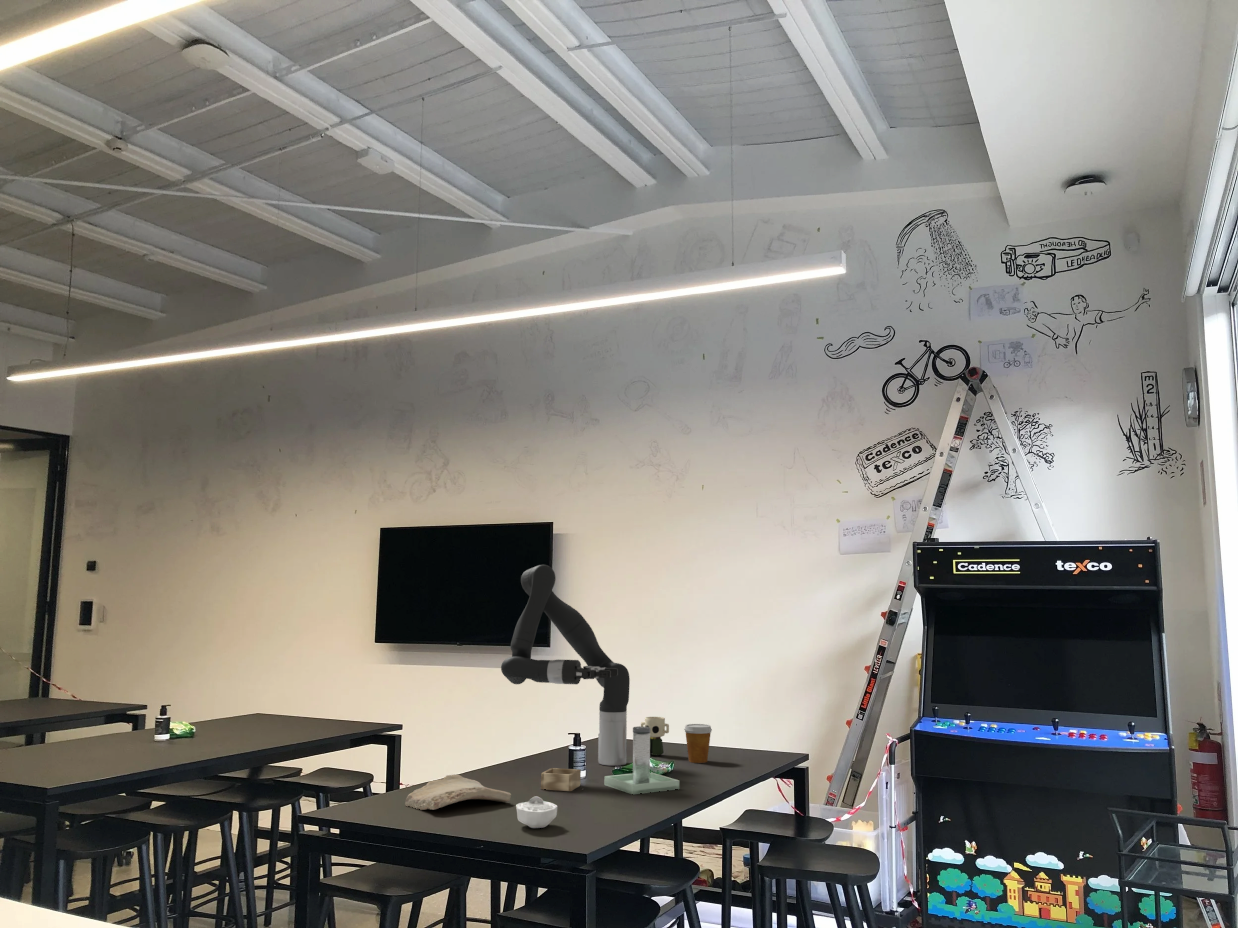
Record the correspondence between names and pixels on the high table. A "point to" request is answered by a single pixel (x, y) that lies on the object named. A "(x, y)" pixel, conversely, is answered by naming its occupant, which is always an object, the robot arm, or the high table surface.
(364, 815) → the high table surface
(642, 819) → the high table surface
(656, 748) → the character mug
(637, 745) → the canister
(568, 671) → the robot arm
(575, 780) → the holder
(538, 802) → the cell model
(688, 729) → the disposable coffee cup
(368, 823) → the high table surface
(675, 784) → the tray
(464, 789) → the beige pottery shard
